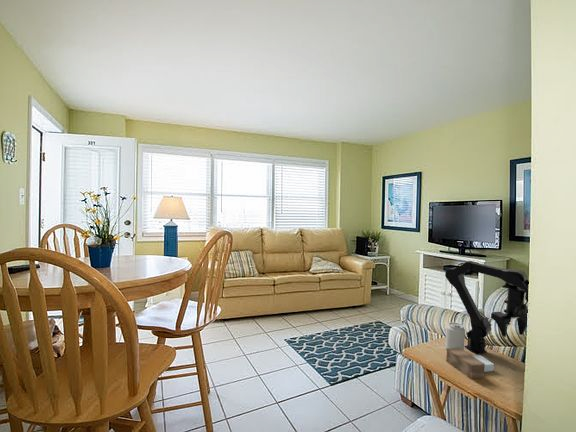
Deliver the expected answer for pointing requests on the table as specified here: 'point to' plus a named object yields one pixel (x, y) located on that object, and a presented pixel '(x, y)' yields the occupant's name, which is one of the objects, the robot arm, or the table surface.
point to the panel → (488, 364)
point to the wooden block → (465, 363)
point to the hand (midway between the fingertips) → (512, 335)
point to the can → (455, 336)
